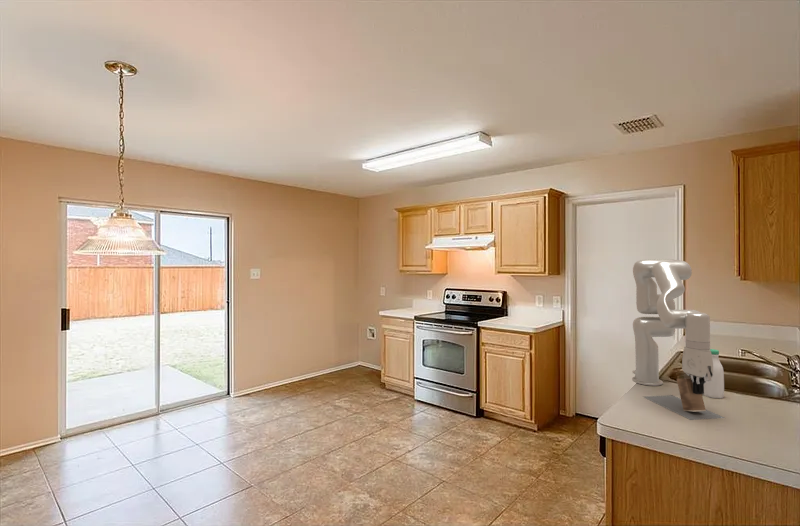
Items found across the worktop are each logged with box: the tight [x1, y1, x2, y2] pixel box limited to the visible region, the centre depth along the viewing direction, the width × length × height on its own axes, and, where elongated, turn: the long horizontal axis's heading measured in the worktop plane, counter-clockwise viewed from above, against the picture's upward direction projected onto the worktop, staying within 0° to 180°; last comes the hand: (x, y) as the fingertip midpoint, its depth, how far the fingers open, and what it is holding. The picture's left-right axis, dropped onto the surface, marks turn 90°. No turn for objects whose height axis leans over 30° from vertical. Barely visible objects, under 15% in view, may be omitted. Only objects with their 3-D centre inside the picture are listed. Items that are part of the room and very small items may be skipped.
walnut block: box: [676, 377, 707, 412], centre depth 158 cm, size 5×5×12 cm
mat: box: [643, 394, 726, 421], centre depth 163 cm, size 26×14×1 cm, turn 5°
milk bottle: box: [702, 348, 725, 399], centre depth 176 cm, size 8×8×20 cm
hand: (698, 393), depth 155 cm, fingers closed
